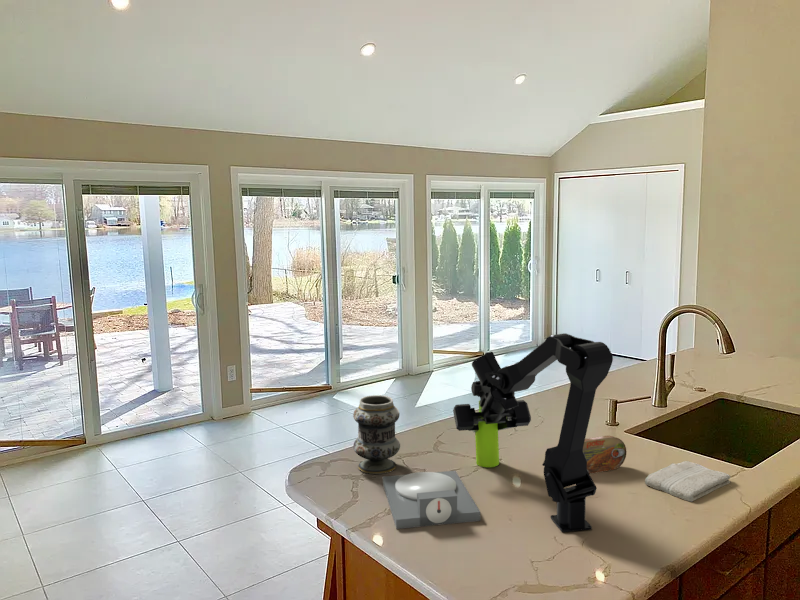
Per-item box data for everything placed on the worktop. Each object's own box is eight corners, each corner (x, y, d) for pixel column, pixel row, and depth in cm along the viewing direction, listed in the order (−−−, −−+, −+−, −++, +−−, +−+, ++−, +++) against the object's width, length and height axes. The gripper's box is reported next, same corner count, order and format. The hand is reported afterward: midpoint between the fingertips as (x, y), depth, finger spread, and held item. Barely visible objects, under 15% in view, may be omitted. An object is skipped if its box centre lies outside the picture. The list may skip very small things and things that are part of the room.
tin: (573, 476, 155) (574, 443, 154) (567, 471, 158) (567, 439, 157) (626, 468, 159) (627, 436, 158) (619, 463, 162) (620, 432, 161)
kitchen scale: (481, 521, 133) (480, 494, 132) (396, 529, 131) (396, 502, 130) (455, 478, 155) (455, 454, 154) (382, 484, 153) (382, 460, 152)
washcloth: (732, 484, 150) (733, 471, 150) (691, 505, 140) (692, 492, 139) (685, 468, 159) (685, 456, 159) (643, 487, 149) (644, 475, 149)
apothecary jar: (402, 475, 158) (400, 405, 155) (354, 477, 157) (351, 407, 154) (399, 456, 170) (397, 391, 167) (354, 458, 169) (352, 393, 166)
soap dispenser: (469, 465, 163) (466, 390, 160) (485, 456, 168) (482, 384, 165) (488, 470, 159) (485, 393, 156) (503, 461, 164) (500, 387, 161)
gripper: (527, 369, 158) (512, 399, 170) (454, 374, 155) (445, 404, 167) (538, 410, 151) (522, 438, 163) (462, 415, 148) (452, 443, 161)
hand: (485, 429), depth 164 cm, fingers closed on soap dispenser, 6 cm apart
